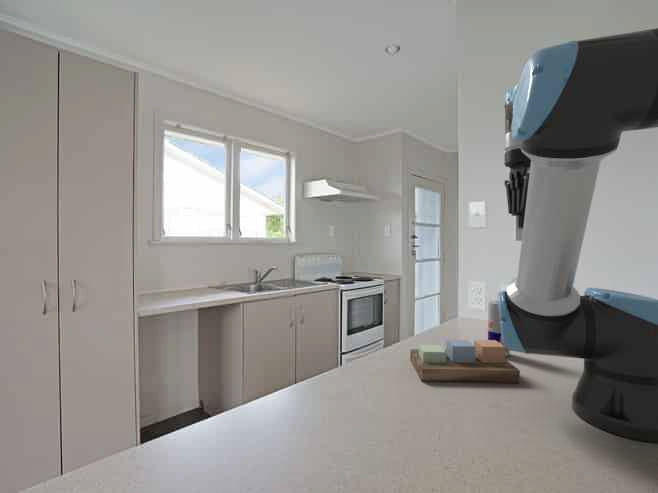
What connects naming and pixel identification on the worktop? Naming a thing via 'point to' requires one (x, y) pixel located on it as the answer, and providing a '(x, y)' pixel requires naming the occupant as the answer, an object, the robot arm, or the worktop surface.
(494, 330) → the beverage can
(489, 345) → the terracotta button
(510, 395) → the worktop surface
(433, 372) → the board
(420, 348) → the sage button
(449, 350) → the slate button
